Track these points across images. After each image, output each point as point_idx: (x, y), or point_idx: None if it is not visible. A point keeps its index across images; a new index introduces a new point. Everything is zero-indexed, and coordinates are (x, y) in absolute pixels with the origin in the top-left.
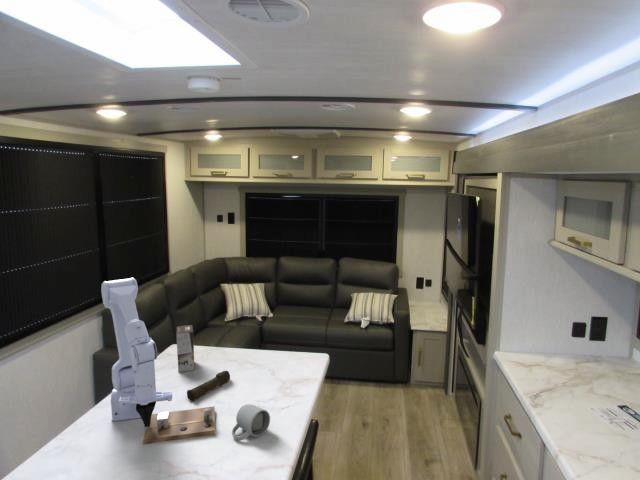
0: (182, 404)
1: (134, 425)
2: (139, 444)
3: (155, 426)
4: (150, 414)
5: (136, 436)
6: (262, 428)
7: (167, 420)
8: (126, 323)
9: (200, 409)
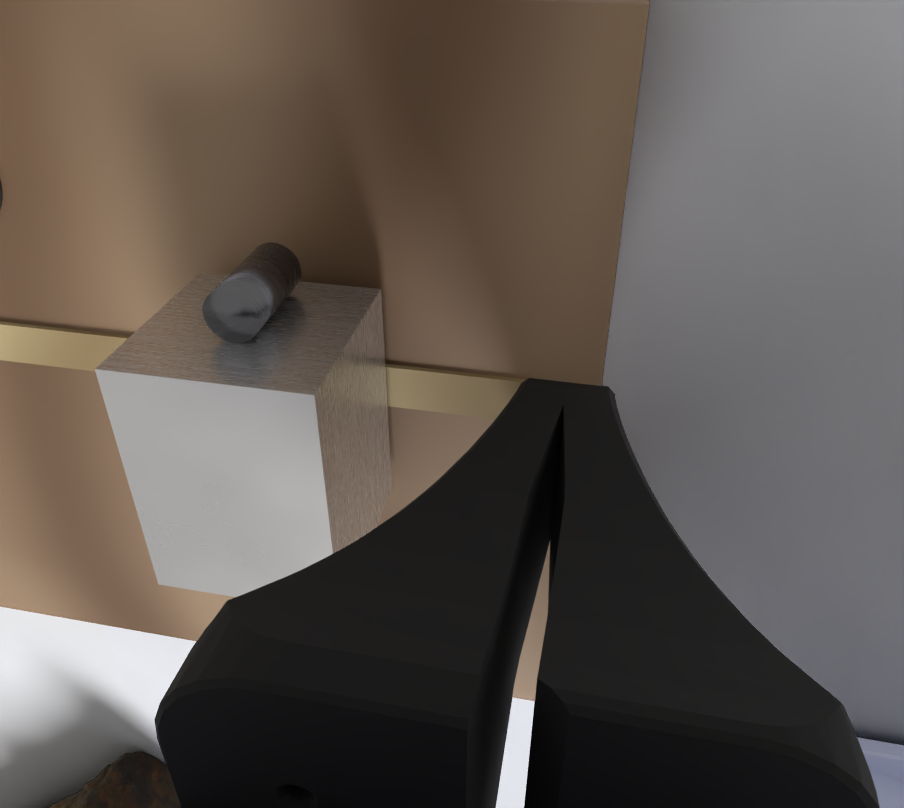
0: None
1: (777, 595)
2: (723, 21)
3: (438, 398)
4: (415, 519)
5: (765, 315)
6: None
7: (126, 342)
8: None
9: None
